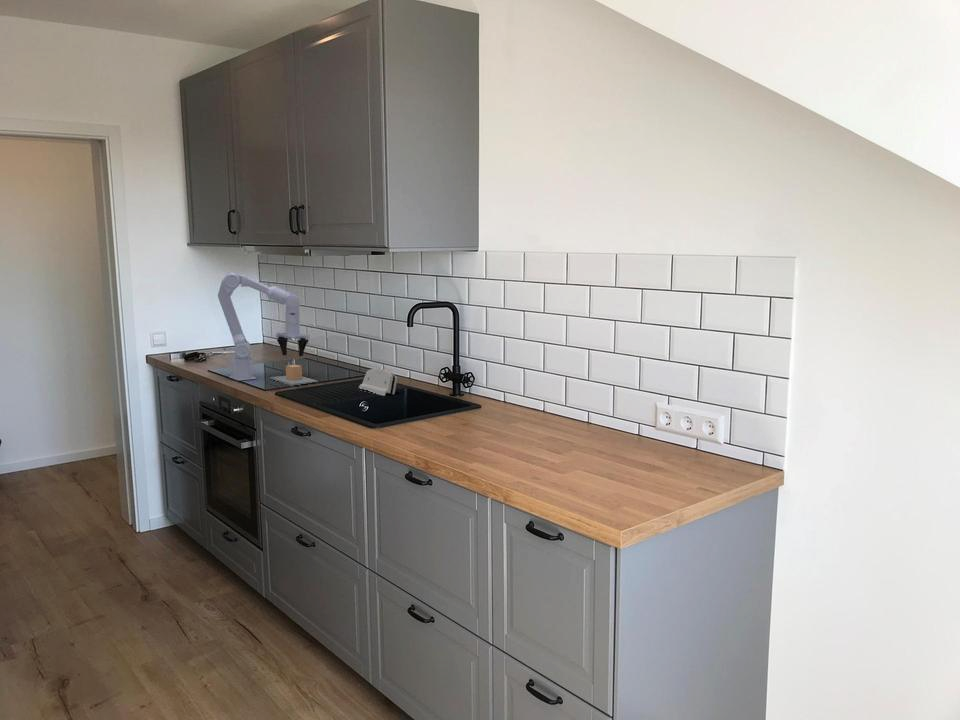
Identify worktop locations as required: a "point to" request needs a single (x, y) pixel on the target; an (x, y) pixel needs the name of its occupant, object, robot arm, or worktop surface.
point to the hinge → (379, 382)
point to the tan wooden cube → (293, 372)
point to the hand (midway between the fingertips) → (292, 355)
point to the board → (293, 382)
